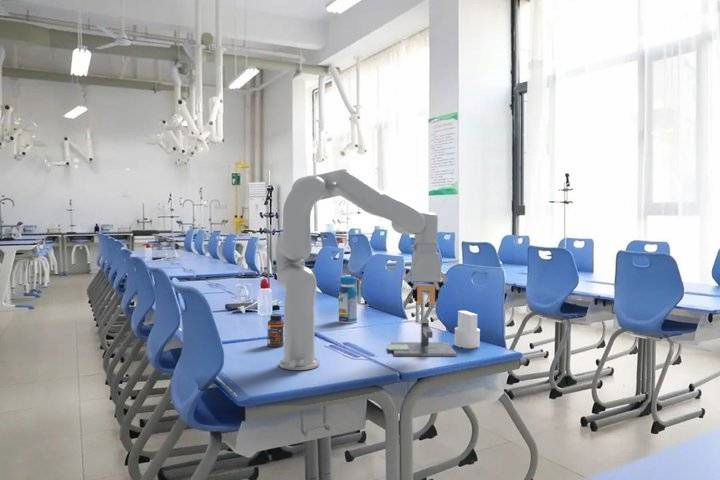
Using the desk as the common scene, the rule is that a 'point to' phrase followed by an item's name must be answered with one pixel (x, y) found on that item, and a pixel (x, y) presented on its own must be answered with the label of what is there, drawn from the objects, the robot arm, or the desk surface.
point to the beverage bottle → (347, 300)
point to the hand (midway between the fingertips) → (425, 300)
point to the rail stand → (422, 345)
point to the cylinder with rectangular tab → (467, 330)
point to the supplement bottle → (275, 331)
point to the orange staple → (426, 288)
